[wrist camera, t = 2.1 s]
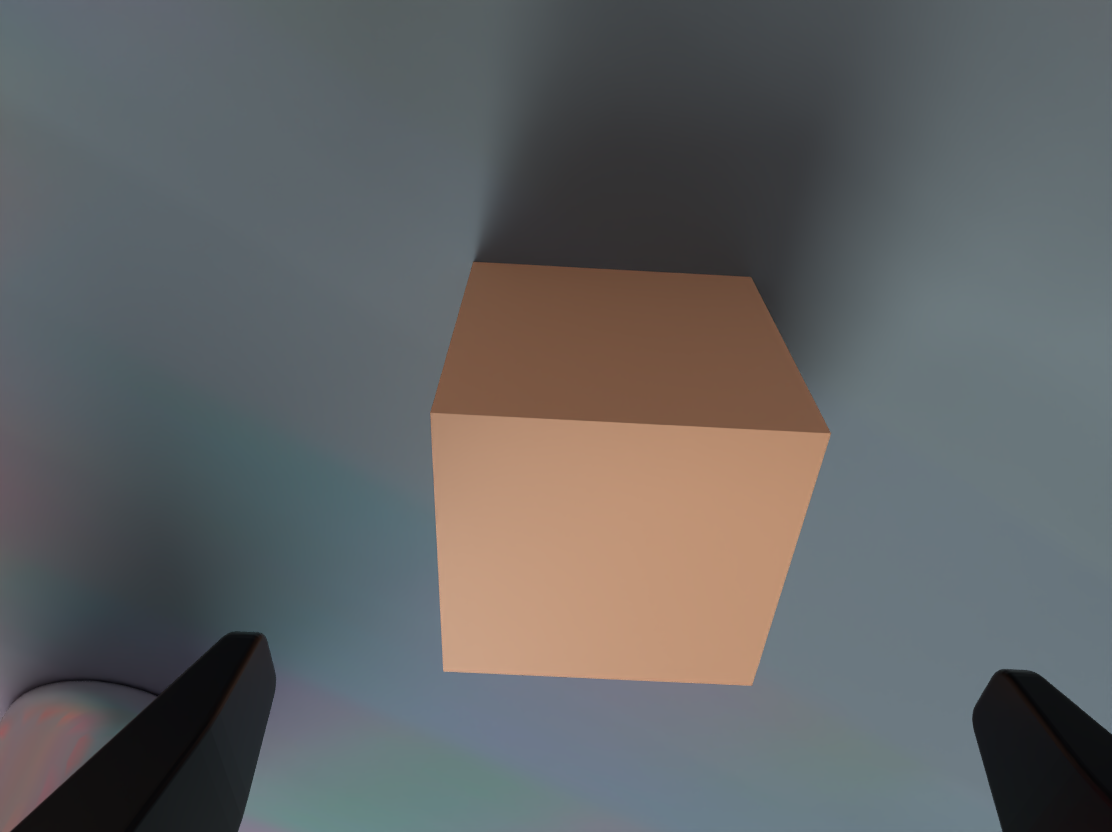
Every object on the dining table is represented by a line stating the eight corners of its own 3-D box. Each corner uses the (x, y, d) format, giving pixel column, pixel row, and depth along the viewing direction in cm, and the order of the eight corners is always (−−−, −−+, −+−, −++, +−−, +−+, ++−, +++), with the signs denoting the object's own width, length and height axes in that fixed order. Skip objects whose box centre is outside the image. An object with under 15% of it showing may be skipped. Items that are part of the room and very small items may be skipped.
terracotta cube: (749, 275, 13) (830, 433, 9) (705, 489, 16) (752, 685, 12) (473, 259, 13) (431, 412, 9) (475, 477, 16) (443, 671, 12)
